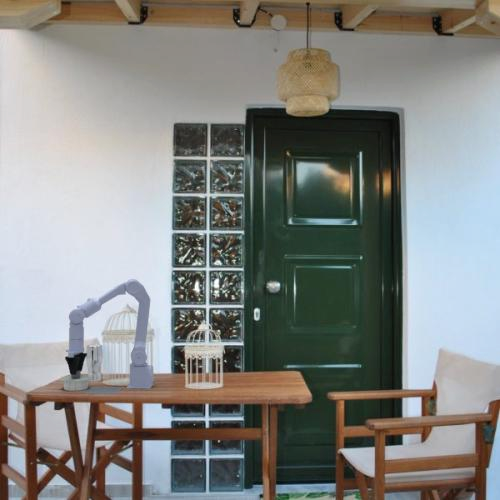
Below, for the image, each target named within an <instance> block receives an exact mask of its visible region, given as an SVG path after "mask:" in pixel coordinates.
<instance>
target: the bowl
mask: <svg viewBox="0 0 500 500" xmlns="http://www.w3.org/2000/svg"><path fill="white" fill-rule="evenodd" d="M63 389H64V390H65V391H69V392H71V391H72V392H78V391H86V390H88V389H89V381H84V382H63Z"/></svg>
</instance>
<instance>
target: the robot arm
mask: <svg viewBox="0 0 500 500" xmlns="http://www.w3.org/2000/svg"><path fill="white" fill-rule="evenodd" d="M126 293H127V294H128V295H130V296H132V297H133V298H134V299H135V300H136V301H137V302H138V307H137V308H138V309H137V310H138V311H137V318H136V320H137V321H136V329H135V335H134V336H135V337H134V344H133V347H132V348H133V349H132V350H131V352H130V359H131V363H129V385H127V386H126V389H151V388H152V387H153V386H154V366H153V365H150V364H148V362H147V361H148V359H147V358H148V355H147V352H146V347H147V335H148V328H149V327H148V325H149V317H150V309H151V308H150V307H151V297H150V296H149V294H148V292H147V289H146V288H145V286H144V285H143V284H142V283H141V282H140V281H139V280H138V279H135V278H131V279H129V280H127V281H124V282H122V283H120V284H118V285H116V286H114V287H113V288H112V289H110V290H108V291H107V292H105V293H104V294H103V295H101V296H99V297H98V298H96V297H92V298H87V300H86V301H85V302H84V303H81V304H80V305H76V308H75V309H72V310H71V311H70V312H69V314H68V319H69V328H68V349H65V352H67V356H65V357H64V359H65V361H66V364H67V365H68V370H69V374H70V375H69V376H71V375H76V372H77V370H80V371H81V372H82V371H83V368H84V363H85V360H86V356H87V353H86V352H85V343H84V342H85V341H84V339H85V338H84V337H85V327H84V319H87V318H90V317H91V316H93V315H95V314H96V313H97V312H99V311H101V309H102V305H104V304H106V303H107V302H109V301H111V300H112V299H115V298H116V297H118V296H120V295H121V296H122V295H127V294H126Z"/></svg>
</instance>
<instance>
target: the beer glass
mask: <svg viewBox="0 0 500 500" xmlns="http://www.w3.org/2000/svg"><path fill="white" fill-rule="evenodd" d="M103 351H104V350H103V344H89V345H86V351H85V353H87V356H86V358H85V360H86V367H87V376H90V377H91V380H89V381H88V382H100V381H102V374H101V372H102V371H101V370H102V364H103V359H104V358H103V357H104V356H103V355H104V352H103Z"/></svg>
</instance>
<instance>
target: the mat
mask: <svg viewBox="0 0 500 500" xmlns="http://www.w3.org/2000/svg"><path fill="white" fill-rule="evenodd" d="M122 389H124V386H122V387H121V386H120V387H119V386H91V387H90V388H87V389H86V390H84V391H83V393H82V394H84V395H85V394H90V395H91V394H92V395H93V394H94V395H95V394H97V395H99V394H101V395H116V394H118V393H119V392H121V390H122Z"/></svg>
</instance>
